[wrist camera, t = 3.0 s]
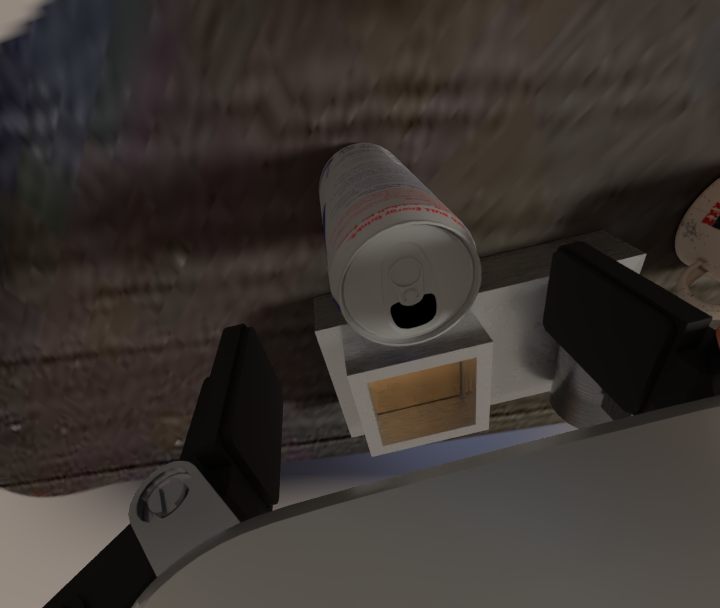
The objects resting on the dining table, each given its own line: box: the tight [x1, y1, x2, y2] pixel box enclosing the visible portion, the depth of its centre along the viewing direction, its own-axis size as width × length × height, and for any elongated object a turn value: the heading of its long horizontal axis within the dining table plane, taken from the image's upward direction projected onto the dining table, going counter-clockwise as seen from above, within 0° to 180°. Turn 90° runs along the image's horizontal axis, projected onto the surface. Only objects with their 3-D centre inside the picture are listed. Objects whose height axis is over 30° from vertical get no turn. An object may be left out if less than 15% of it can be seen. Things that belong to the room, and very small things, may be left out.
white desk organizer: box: [313, 230, 646, 457], centre depth 24 cm, size 22×12×11 cm, turn 101°
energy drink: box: [319, 143, 482, 346], centre depth 16 cm, size 5×5×12 cm
